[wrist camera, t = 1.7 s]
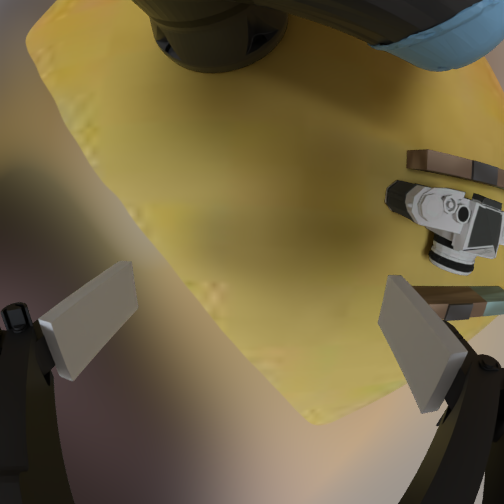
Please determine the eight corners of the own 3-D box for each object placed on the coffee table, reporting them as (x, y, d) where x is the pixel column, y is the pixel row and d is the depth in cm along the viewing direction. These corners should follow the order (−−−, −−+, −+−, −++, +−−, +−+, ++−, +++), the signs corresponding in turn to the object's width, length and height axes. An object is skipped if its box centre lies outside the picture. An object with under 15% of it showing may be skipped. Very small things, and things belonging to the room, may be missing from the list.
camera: (371, 246, 30) (405, 280, 21) (385, 170, 27) (428, 175, 18) (471, 263, 29) (514, 293, 20) (485, 200, 26) (535, 216, 17)
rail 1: (407, 150, 26) (429, 149, 21) (517, 179, 24) (541, 183, 19) (406, 168, 27) (428, 170, 22) (516, 192, 25) (540, 199, 20)
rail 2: (391, 285, 31) (407, 306, 26) (498, 286, 29) (518, 301, 24) (387, 300, 32) (402, 322, 27) (494, 298, 30) (514, 314, 25)
